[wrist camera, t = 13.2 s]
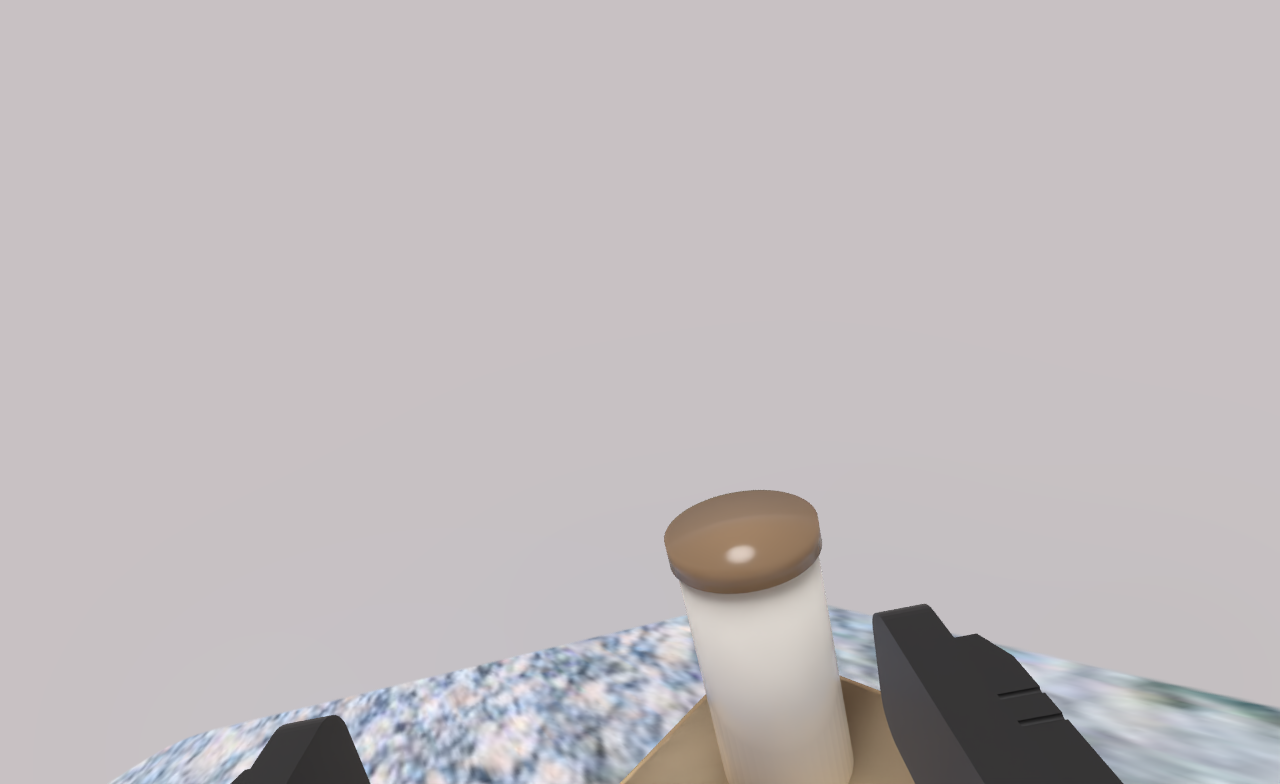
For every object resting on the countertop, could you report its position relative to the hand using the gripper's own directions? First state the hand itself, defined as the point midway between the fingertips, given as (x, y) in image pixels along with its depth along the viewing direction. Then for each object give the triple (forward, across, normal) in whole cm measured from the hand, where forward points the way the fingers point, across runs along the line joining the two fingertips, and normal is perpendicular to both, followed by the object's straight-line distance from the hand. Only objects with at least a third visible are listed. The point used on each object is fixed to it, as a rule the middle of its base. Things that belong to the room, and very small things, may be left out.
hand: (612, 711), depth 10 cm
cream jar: (+14, -4, +16) cm, 22 cm away
